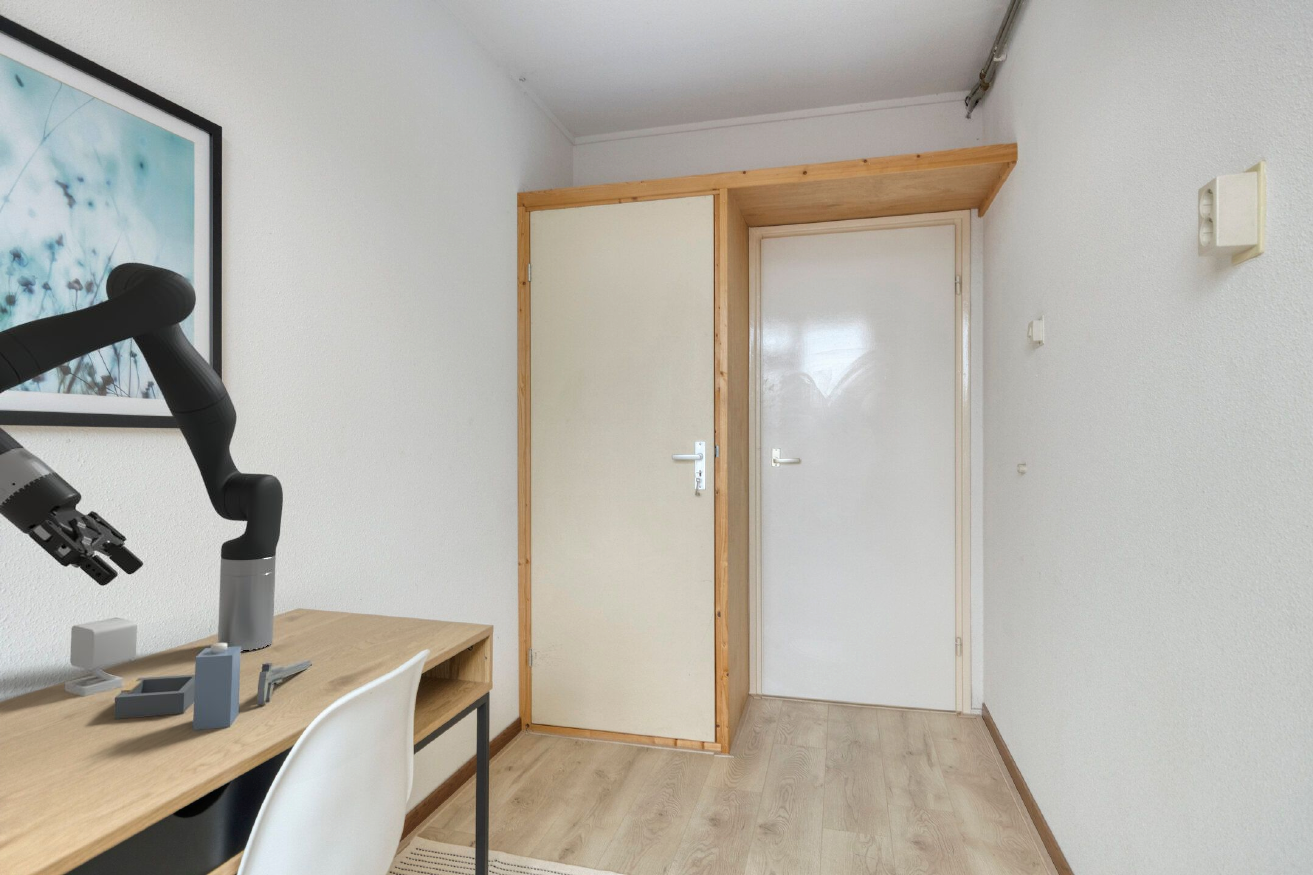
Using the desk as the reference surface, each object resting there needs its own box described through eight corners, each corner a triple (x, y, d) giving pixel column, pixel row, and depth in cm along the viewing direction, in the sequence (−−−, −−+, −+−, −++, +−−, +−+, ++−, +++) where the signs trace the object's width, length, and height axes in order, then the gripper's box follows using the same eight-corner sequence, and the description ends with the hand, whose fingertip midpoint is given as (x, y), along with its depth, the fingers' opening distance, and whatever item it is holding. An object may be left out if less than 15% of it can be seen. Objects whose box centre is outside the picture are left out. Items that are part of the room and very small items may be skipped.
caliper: (264, 708, 106) (265, 666, 106) (256, 708, 106) (258, 666, 106) (312, 665, 126) (313, 630, 126) (306, 665, 126) (307, 630, 126)
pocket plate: (113, 718, 100) (114, 695, 100) (137, 697, 108) (138, 676, 108) (183, 713, 102) (184, 691, 102) (201, 693, 110) (202, 672, 110)
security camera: (135, 683, 114) (137, 621, 114) (85, 697, 107) (87, 631, 107) (112, 677, 116) (115, 616, 116) (62, 689, 110) (65, 625, 110)
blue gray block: (192, 729, 97) (195, 650, 97) (203, 717, 101) (205, 641, 101) (230, 726, 98) (232, 648, 98) (238, 714, 102) (241, 639, 102)
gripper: (22, 472, 87) (127, 563, 90) (77, 469, 100) (167, 548, 104) (-34, 515, 85) (75, 606, 88) (30, 505, 99) (122, 585, 102)
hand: (124, 574), depth 96 cm, fingers open, 8 cm apart
